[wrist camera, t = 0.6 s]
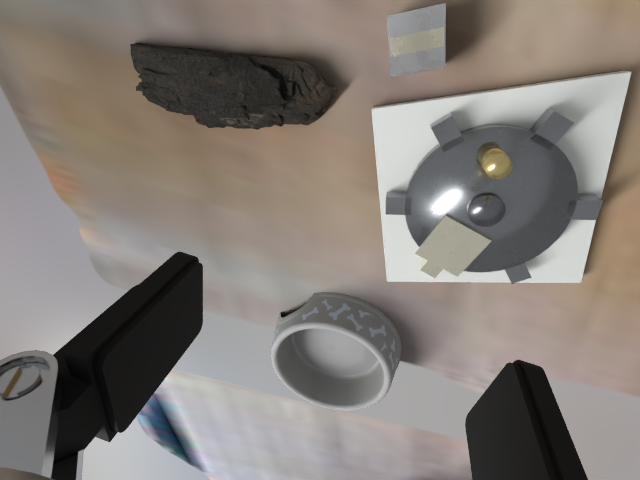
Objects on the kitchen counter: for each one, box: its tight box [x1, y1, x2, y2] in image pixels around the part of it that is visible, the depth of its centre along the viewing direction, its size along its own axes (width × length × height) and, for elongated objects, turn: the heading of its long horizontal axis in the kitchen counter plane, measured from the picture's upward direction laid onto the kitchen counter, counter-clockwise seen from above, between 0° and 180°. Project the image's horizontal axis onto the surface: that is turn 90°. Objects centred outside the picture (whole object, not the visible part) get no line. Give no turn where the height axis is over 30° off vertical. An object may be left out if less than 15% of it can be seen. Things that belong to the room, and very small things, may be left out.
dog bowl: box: [271, 292, 402, 411], centre depth 45 cm, size 17×18×5 cm
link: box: [387, 3, 446, 77], centre depth 26 cm, size 4×4×4 cm
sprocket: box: [386, 108, 604, 284], centre depth 29 cm, size 18×17×6 cm
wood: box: [130, 43, 337, 129], centre depth 32 cm, size 22×7×3 cm, turn 86°
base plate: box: [372, 71, 631, 283], centre depth 32 cm, size 19×19×1 cm
